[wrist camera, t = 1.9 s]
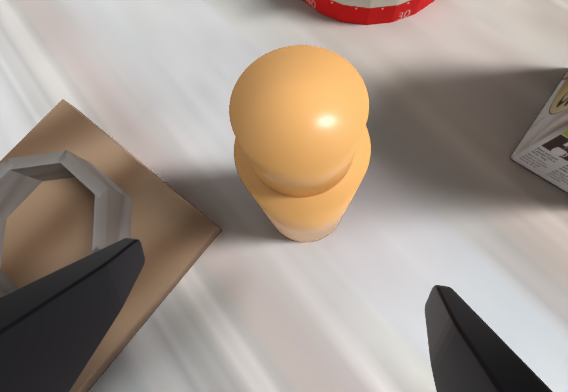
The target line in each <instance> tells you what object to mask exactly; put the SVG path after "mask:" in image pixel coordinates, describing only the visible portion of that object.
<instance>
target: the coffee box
mask: <svg viewBox="0 0 568 392" xmlns="http://www.w3.org/2000/svg"><path fill="white" fill-rule="evenodd" d="M511 158H512V159H513V160H514V161H516V162H517V163H519V164H521V165H522V166H524V167H526V168H527V169H529V170H531V171H532V172H534V173H536V174H537V175H539V176H541V177H542V178H544V179H546V180H547V181H549V182H551V183H552V184H554V185H556V186H557V187H559V188H561V189H562V190H564V191H566V192H567V193H568V71H567V73H566V74H565V76H564V77H563V79H562V80H561V82H560V83H559V85H558V86H557V88H556V89H555V91H554V92H553V94H552V95H551V97H550V98H549V100H548V101H547V103H546V104H545V106H544V107H543V109H542V110H541V112H540V113H539V115H538V116H537V118H536V119H535V121H534V122H533V124H532V125H531V127H530V128H529V130H528V131H527V133H526V134H525V136H524V137H523V139H522V140H521V142H520V144H519V145H518V146H517V148H516V149H515V151H514V152H513V154H512V155H511Z"/></svg>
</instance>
